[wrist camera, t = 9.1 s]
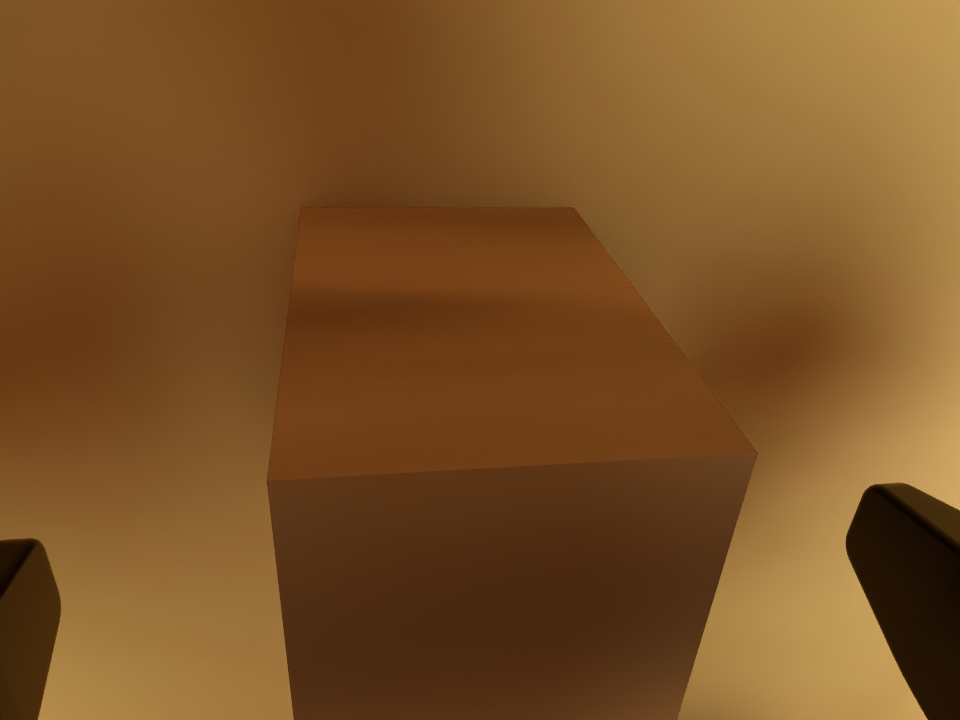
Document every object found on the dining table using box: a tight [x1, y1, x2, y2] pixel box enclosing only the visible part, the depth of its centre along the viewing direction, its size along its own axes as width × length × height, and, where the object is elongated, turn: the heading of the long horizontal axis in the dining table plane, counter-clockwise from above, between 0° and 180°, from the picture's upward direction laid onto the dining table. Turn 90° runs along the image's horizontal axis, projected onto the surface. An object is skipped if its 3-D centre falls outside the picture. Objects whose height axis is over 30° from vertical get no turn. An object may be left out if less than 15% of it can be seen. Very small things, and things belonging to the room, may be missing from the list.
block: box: [267, 208, 757, 720], centre depth 10 cm, size 4×4×6 cm
